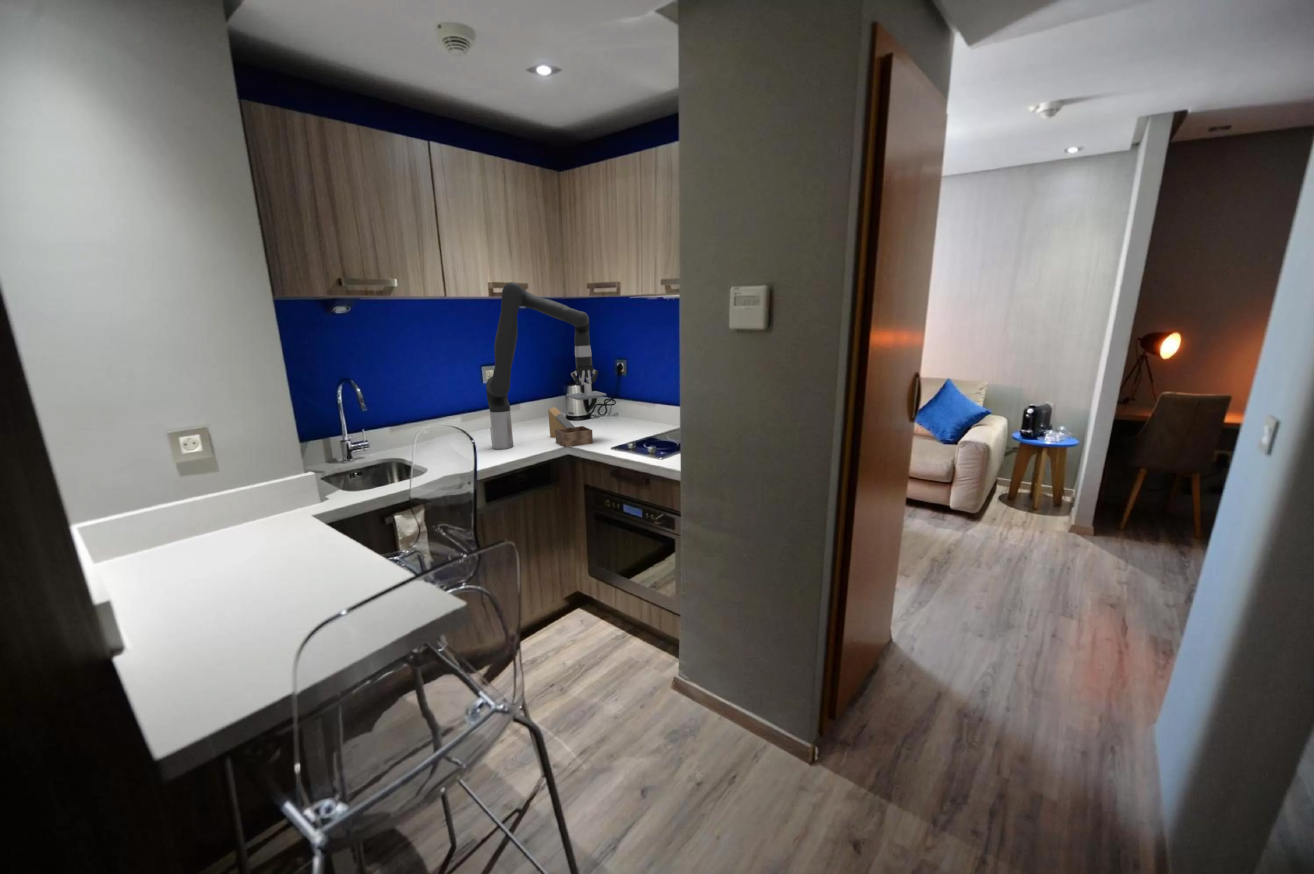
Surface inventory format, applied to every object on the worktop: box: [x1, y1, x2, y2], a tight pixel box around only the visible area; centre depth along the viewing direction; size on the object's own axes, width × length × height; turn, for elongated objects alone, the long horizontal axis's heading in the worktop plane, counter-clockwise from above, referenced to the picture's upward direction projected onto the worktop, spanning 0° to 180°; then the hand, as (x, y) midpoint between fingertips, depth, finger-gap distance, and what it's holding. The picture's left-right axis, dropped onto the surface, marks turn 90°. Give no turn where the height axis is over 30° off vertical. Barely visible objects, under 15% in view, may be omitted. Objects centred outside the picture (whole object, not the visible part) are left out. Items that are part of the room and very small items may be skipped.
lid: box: [566, 382, 607, 401], centre depth 246 cm, size 15×13×7 cm
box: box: [555, 425, 594, 448], centre depth 248 cm, size 14×12×7 cm
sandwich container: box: [547, 406, 576, 439], centre depth 263 cm, size 9×15×15 cm, turn 78°
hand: (586, 392), depth 247 cm, fingers closed on lid, 2 cm apart
